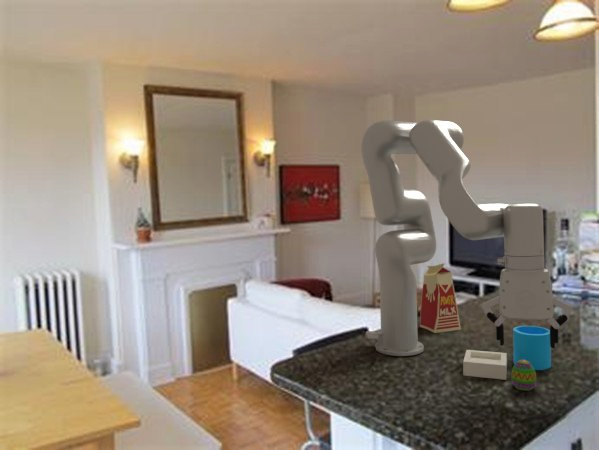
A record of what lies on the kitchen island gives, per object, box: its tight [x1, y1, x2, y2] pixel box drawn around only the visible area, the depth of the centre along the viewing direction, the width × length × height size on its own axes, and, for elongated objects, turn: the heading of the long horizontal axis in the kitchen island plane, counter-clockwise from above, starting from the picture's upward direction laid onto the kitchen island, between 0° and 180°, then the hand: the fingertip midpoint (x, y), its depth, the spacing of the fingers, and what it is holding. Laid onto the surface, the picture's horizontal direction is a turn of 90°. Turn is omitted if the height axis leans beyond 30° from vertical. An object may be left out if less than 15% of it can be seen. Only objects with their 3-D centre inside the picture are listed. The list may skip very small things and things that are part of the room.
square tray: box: [462, 349, 508, 381], centre depth 120 cm, size 9×9×3 cm
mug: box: [512, 325, 552, 371], centre depth 125 cm, size 12×8×8 cm
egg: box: [510, 360, 537, 391], centre depth 109 cm, size 5×5×6 cm
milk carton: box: [419, 263, 462, 334], centre depth 156 cm, size 9×9×20 cm
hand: (526, 344), depth 108 cm, fingers open, 9 cm apart
